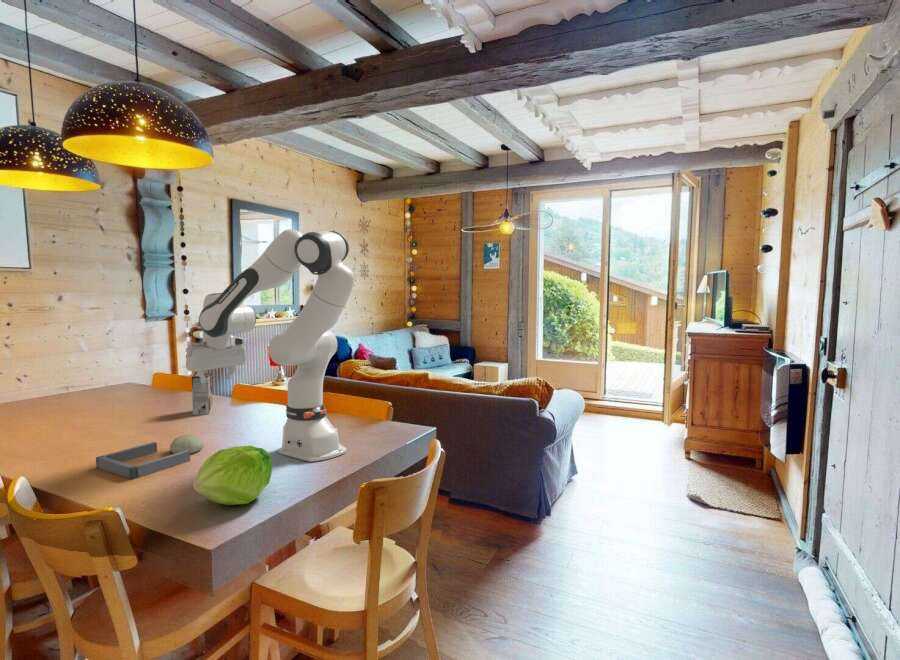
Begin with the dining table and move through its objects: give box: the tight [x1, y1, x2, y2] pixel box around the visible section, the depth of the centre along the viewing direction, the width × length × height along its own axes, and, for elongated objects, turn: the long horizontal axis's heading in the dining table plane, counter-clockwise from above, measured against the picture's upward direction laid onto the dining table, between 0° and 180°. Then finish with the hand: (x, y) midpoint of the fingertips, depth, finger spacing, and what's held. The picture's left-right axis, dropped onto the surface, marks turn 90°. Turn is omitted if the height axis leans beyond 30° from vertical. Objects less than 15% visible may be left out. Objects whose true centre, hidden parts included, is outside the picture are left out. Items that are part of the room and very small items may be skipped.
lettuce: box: [192, 445, 273, 506], centre depth 114 cm, size 15×20×14 cm
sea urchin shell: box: [169, 434, 205, 455], centre depth 151 cm, size 9×8×8 cm
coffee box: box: [191, 372, 214, 416], centre depth 199 cm, size 9×6×16 cm
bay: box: [95, 441, 191, 480], centre depth 139 cm, size 16×18×3 cm
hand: (217, 380), depth 161 cm, fingers open, 8 cm apart
